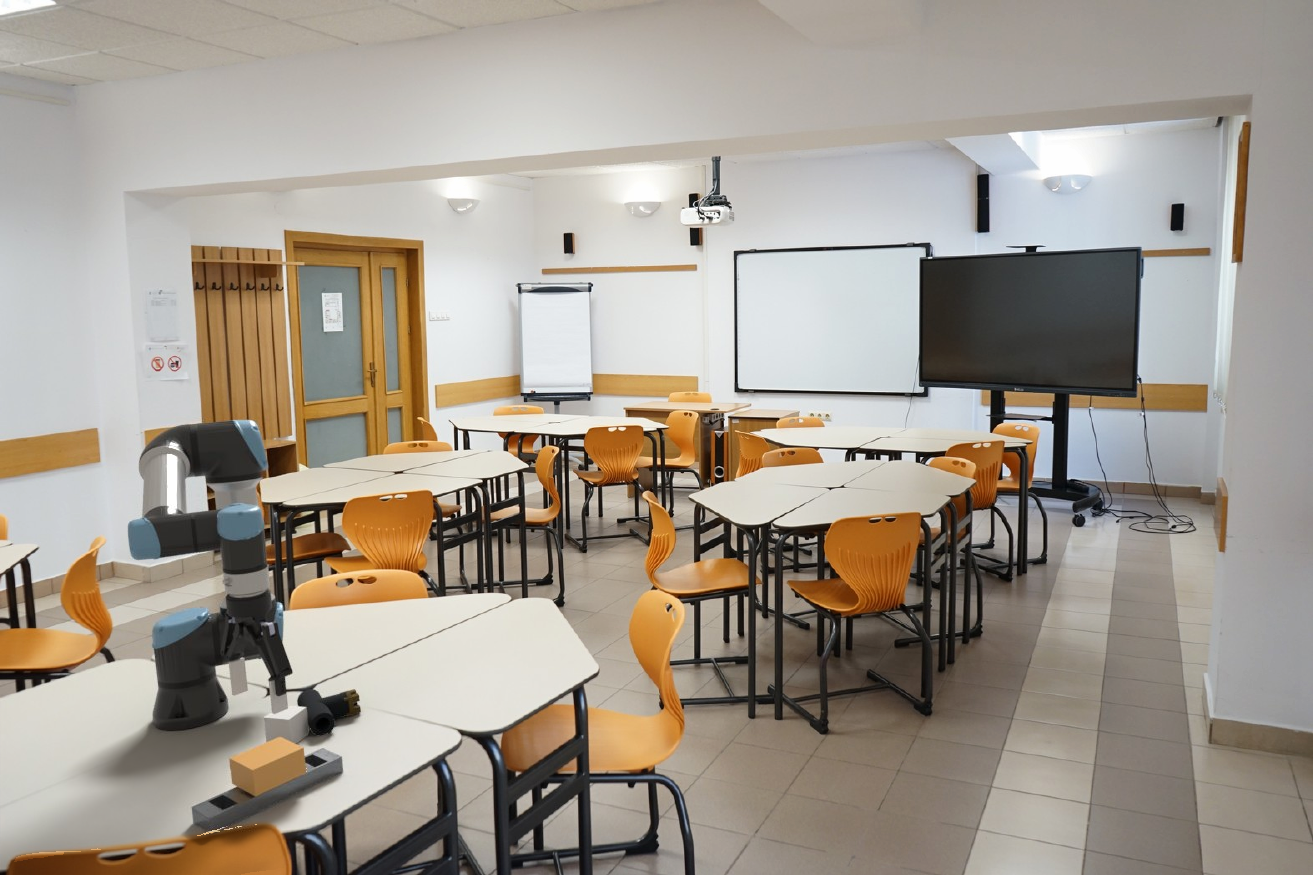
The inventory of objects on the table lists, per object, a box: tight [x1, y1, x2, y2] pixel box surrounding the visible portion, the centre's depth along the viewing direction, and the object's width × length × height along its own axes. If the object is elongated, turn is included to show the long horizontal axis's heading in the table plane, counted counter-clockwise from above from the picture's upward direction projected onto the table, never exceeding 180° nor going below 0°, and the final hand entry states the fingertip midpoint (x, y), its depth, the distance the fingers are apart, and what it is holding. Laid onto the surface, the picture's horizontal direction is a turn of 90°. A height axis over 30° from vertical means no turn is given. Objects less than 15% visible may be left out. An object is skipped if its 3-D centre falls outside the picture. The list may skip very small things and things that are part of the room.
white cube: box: [263, 705, 310, 744], centre depth 197 cm, size 6×6×6 cm
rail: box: [191, 747, 344, 832], centre depth 174 cm, size 6×26×3 cm, turn 142°
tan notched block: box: [228, 737, 306, 797], centre depth 174 cm, size 8×10×8 cm
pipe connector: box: [296, 688, 362, 736], centre depth 206 cm, size 12×5×15 cm
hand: (259, 701), depth 174 cm, fingers open, 13 cm apart
